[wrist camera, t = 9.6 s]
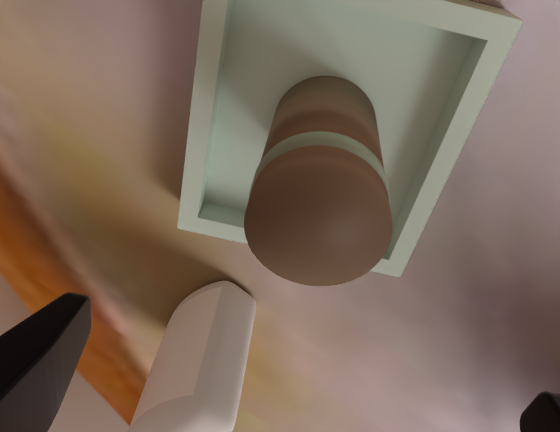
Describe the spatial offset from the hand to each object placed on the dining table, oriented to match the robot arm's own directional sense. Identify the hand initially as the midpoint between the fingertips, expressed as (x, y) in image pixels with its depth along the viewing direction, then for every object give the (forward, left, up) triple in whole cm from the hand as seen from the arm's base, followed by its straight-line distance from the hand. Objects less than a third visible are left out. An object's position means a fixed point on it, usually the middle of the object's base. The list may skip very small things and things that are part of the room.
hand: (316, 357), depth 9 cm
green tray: (0, 0, -12) cm, 12 cm away
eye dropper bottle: (-12, +3, -12) cm, 17 cm away
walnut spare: (0, 0, -11) cm, 11 cm away
